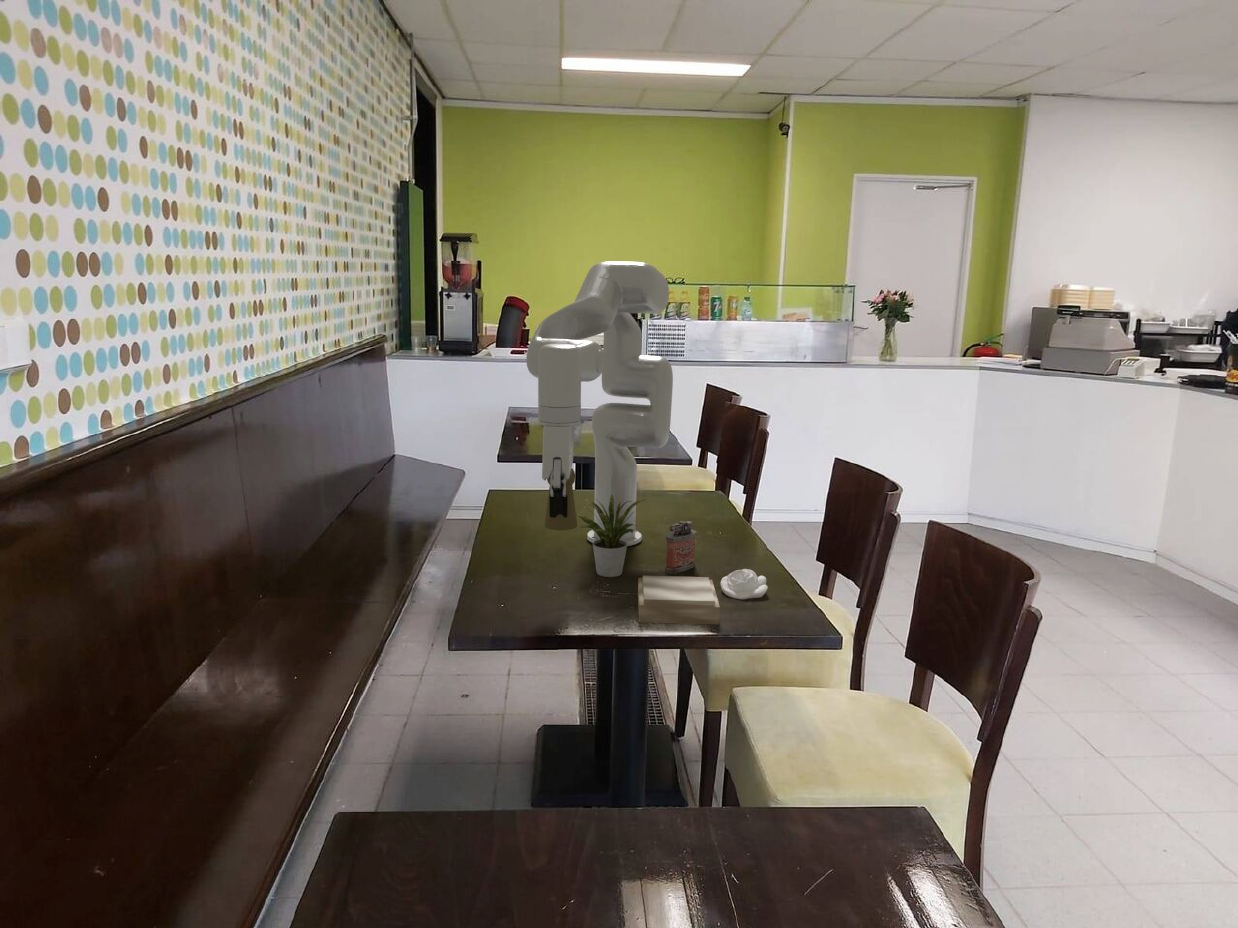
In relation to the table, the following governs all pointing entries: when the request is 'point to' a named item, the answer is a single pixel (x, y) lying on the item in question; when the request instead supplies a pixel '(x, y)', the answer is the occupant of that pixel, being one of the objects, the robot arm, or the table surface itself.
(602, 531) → the house plant
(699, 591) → the birch plinth
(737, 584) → the rose
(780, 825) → the table surface
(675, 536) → the lighter
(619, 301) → the robot arm
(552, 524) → the cork
